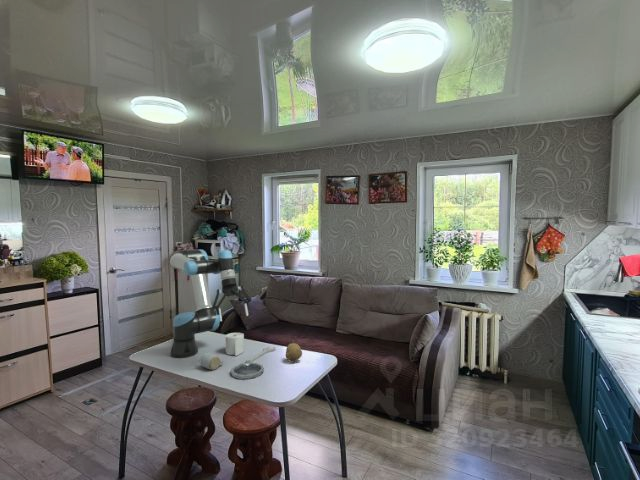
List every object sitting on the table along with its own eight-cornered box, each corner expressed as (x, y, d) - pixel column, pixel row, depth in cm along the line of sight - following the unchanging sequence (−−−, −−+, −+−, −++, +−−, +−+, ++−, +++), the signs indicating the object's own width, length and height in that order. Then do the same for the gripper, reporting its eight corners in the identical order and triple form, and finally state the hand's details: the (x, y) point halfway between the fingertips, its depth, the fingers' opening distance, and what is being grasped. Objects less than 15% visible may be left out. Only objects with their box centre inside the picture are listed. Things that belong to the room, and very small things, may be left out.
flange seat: (225, 378, 165) (225, 374, 165) (239, 365, 181) (239, 361, 181) (256, 380, 162) (256, 376, 162) (267, 367, 178) (267, 363, 178)
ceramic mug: (209, 372, 171) (210, 357, 171) (199, 368, 176) (199, 354, 176) (226, 365, 180) (226, 351, 180) (216, 362, 185) (216, 348, 185)
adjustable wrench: (249, 364, 183) (248, 361, 183) (240, 362, 186) (240, 359, 186) (277, 350, 204) (277, 347, 204) (268, 348, 208) (268, 345, 207)
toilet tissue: (236, 347, 208) (236, 331, 208) (249, 351, 201) (249, 335, 200) (221, 352, 200) (221, 335, 199) (234, 357, 192) (234, 339, 192)
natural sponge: (304, 359, 188) (304, 342, 188) (297, 365, 180) (297, 347, 180) (290, 357, 192) (290, 340, 191) (283, 363, 183) (282, 345, 183)
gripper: (204, 281, 172) (210, 322, 167) (252, 274, 182) (259, 313, 178) (203, 283, 178) (209, 323, 174) (249, 276, 189) (256, 314, 184)
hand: (234, 318), depth 176 cm, fingers open, 13 cm apart
